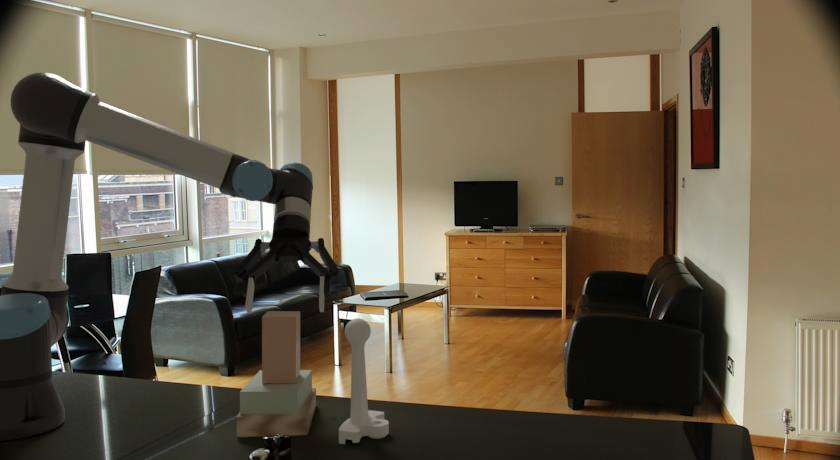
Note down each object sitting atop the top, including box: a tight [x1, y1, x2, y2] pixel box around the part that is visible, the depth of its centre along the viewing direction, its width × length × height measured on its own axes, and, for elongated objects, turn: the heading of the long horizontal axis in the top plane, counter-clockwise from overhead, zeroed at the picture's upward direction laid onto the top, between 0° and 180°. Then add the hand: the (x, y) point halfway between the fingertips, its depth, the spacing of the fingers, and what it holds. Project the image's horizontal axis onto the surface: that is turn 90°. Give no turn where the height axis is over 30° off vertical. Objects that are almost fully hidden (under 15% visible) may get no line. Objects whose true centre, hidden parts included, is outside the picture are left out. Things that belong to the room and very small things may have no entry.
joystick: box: [338, 318, 390, 445], centre depth 120 cm, size 11×8×20 cm
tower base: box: [235, 387, 317, 438], centre depth 128 cm, size 12×16×4 cm
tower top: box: [239, 369, 313, 415], centre depth 128 cm, size 10×14×4 cm
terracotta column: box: [261, 310, 301, 383], centre depth 128 cm, size 6×6×12 cm
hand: (285, 309), depth 132 cm, fingers open, 13 cm apart
